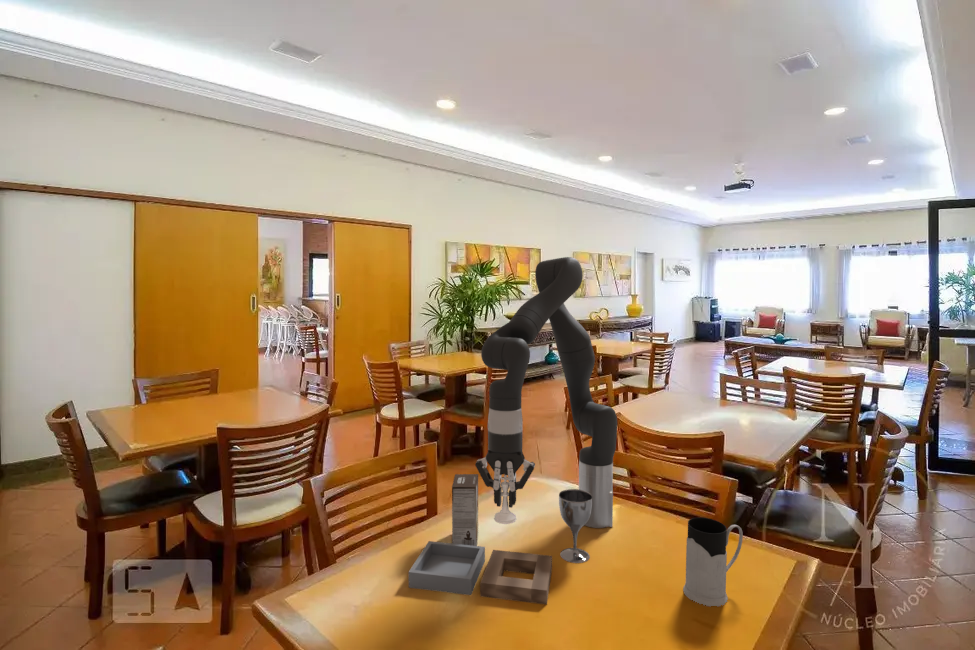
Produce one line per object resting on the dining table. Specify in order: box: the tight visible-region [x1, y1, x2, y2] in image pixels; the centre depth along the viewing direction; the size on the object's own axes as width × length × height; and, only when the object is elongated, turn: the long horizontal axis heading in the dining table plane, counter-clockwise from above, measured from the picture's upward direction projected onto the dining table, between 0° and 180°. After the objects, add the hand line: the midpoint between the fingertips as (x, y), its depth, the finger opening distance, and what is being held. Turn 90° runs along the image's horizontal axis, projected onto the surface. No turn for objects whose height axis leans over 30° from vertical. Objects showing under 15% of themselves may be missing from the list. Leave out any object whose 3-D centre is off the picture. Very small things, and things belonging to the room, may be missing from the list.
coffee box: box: [451, 473, 479, 546], centre depth 130 cm, size 9×6×16 cm
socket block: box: [479, 549, 553, 605], centre depth 111 cm, size 14×14×3 cm
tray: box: [408, 540, 486, 596], centre depth 115 cm, size 14×14×4 cm
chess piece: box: [493, 474, 517, 525], centre depth 111 cm, size 5×5×10 cm
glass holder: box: [683, 517, 744, 607], centre depth 108 cm, size 9×14×15 cm, turn 111°
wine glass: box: [558, 488, 592, 564], centre depth 122 cm, size 8×8×15 cm
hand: (504, 505), depth 111 cm, fingers closed on chess piece
